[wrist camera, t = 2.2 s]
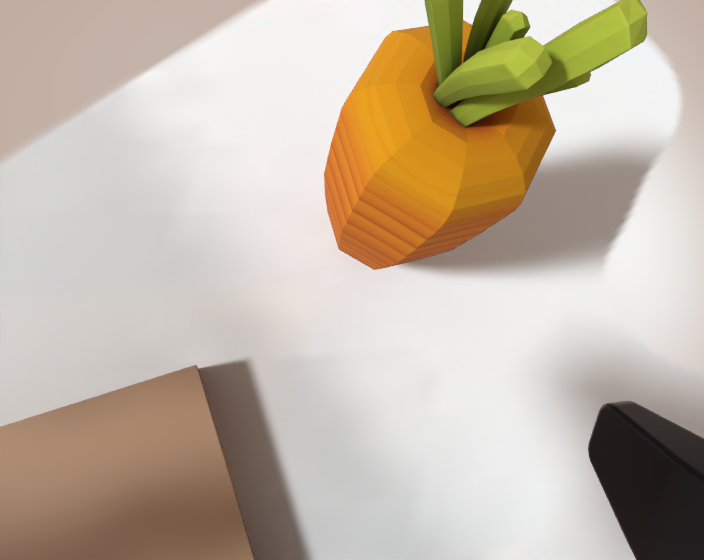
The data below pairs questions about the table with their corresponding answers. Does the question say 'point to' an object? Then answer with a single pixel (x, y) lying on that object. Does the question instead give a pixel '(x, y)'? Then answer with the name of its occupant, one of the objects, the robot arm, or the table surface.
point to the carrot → (455, 125)
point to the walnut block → (121, 479)
